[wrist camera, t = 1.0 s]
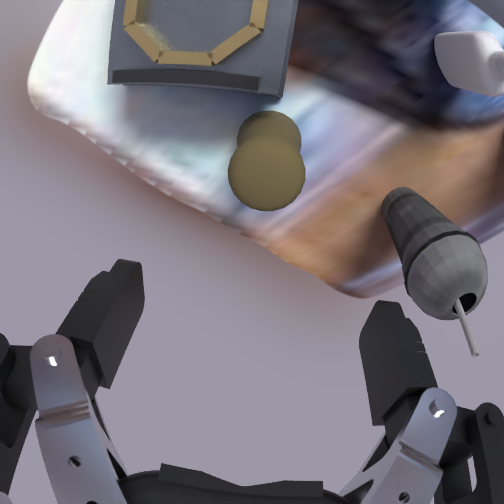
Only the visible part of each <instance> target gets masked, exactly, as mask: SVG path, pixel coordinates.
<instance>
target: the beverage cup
mask: <svg viewBox="0 0 504 504" xmlns="http://www.w3.org/2000/svg"><path fill="white" fill-rule="evenodd" d="M382 212H383V215H384V217H385V221H386V224H387V226H388V229H389V231H390V234H391V236H392V239H393V242H394V244H395V247H396V249H397V252H398V255H399V257H400V260H401V263H402V270H403V275H404V279H405V282H404V284H405V288H406V291H407V294H408V295H409V296H410V297H411V298H412V299H413V301H414V302H415V303H416V304H417V305H418V307H419V308H420V309H421V310H422V311H423V312H424V313H426V314H427V315H430V316H432V317H434V318H437V319H440V320H454V319H460V322H461V325H462V328H463V330H464V333H465V336H466V339H467V342H468V345H469V348H470V351H471V354H472V357H473V358H475V357H477V356H479V351H478V348H477V345H476V342H475V339H474V337H473V334H472V331H471V328H470V325H469V323H468V320H467V318H466V315H467V314H469V313H470V312H471V311H472V310H474V309H475V308H476V306H477V305H478V304H479V303H480V301H481V299H482V298H483V296H484V293H485V290H486V286H487V282H488V272H487V263H486V259H485V257H484V255H483V253H482V250H481V248H480V246H479V244H478V242H477V240H476V238H474V237H473V236H472V235H470V234H469V233H467V232H465V231H463V230H462V229H461V228H459V227H458V226H456V225H455V224H453V223H452V222H451V221H450V220H449V219H448V218H446V217H445V216H444V215H443V214H442V213H441V212H440V211H438V210H437V209H436V208H435V207H434V206H433V205H431V204H430V203H429V202H428V201H427V200H426V199H424V198H423V197H422V196H421V195H419V194H417V193H416V192H415V191H413V190H412V189H410V188H406V187H401V188H397V189H395V190H392V191H391V192H390V193H389V194H388V195H387V196H386V198H385V199H384V202H383V205H382Z"/></svg>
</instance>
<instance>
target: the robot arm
mask: <svg viewBox="0 0 504 504" xmlns="http://www.w3.org/2000/svg"><path fill="white" fill-rule="evenodd" d="M144 301H145V296H144V286H143V274H142V266H141V263H139V262H134V261H129V260H124V259H118V260H117V261H116V263H115V264H114V266H113V267H112V269H111V270H110V272H106V271H102V272H101V273H99V274H98V275H96V276H95V277H94V278H92V279H91V280H90V282H89V283H88V285H87V286H86V287H85V289H84V292H82V294H81V295H80V296H79V298H78V301H76V303H75V304H74V306H73V307H72V308H71V310H70V312H69V313H68V315H67V316H66V318H65V319H64V321H63V323H62V324H61V326H60V327H59V329H58V331H57V332H56V334H52V335H47V336H44V337H43V338H40V339H39V340H38V341H37V342H36V343H35V344H34V345H33V346H17V345H10V344H9V342H8V340H7V339H6V337H5V336H4V335H3V334H1V333H0V504H12V502H11V500H10V498H9V497H8V494H9V490H10V486H11V483H12V479H13V476H14V472H15V469H16V466H17V463H18V460H19V457H20V454H21V451H22V448H23V445H24V442H25V439H26V436H27V434H28V431H29V428H30V426H31V423H32V420H33V418H34V415H35V413H36V410H39V418H38V419H36V421H35V428H36V433H37V437H38V441H39V445H40V449H41V453H42V456H43V460H44V463H45V466H46V470H47V473H48V476H49V479H50V483H51V486H52V488H53V491H54V494H55V497H56V499H57V502H58V504H430V502H431V499H432V498H433V495H434V504H504V416H503V414H502V412H501V410H500V409H499V408H498V407H497V406H496V405H494V404H492V403H483V404H481V405H480V406H479V407H478V408H477V409H476V410H474V411H473V410H470V409H466V408H462V407H458V406H456V403H455V401H454V399H453V397H452V396H451V395H450V394H449V393H448V392H446V391H445V390H443V389H440V388H438V386H437V382H436V379H435V377H434V373H433V370H432V367H431V364H430V361H429V359H428V355H427V353H425V351H426V350H425V347H424V344H423V343H422V339H421V336H420V334H419V331H418V329H417V327H416V326H415V325H414V324H413V322H412V321H411V320H410V319H409V318H405V316H404V313H403V310H402V308H401V305H400V304H399V303H398V302H390V301H382V300H378V301H377V302H376V303H375V305H374V307H373V309H372V311H371V313H370V315H369V317H368V319H367V321H366V323H365V325H364V327H363V328H362V331H361V333H360V338H359V348H360V354H361V358H362V364H363V369H364V375H365V380H366V386H367V392H368V397H369V404H370V411H371V417H372V424H373V426H377V425H379V426H380V425H385V432H384V433H383V434H382V436H381V437H380V439H379V441H378V442H377V444H376V446H375V447H374V449H373V450H372V452H371V453H370V455H369V456H368V458H367V459H366V461H365V462H364V464H363V465H362V467H361V468H360V470H359V471H358V473H357V474H356V475H355V476H354V477H353V479H352V480H351V481H350V482H349V483H348V484H347V485H346V486H345V487H344V488H343V489H342V490H341V491H340V493H339V494H336V493H333V492H330V491H327V490H324V489H323V481H285V480H284V481H279V482H273V483H267V484H260V485H254V486H239V485H236V484H233V483H230V482H227V481H225V480H222V479H220V478H217V477H214V476H212V475H209V474H207V473H204V472H202V471H197V470H192V469H187V468H181V467H177V466H172V465H167V464H163V463H162V464H161V468H160V470H154V471H144V472H140V473H135V474H132V475H128V473H127V471H126V469H125V467H124V464H123V462H122V461H121V459H120V456H119V454H118V452H117V451H116V449H115V447H114V444H113V442H112V440H111V437H110V435H109V433H108V430H107V427H106V425H105V422H104V419H103V417H102V414H101V411H100V408H99V405H98V403H97V400H96V397H95V394H96V392H97V389H98V387H99V386H101V387H104V388H108V389H110V387H111V385H112V382H113V380H114V377H115V374H116V372H117V370H118V367H119V365H120V363H121V360H122V358H123V355H124V353H125V350H126V348H127V346H128V344H129V341H130V339H131V337H132V335H133V332H134V330H135V328H136V326H137V323H138V321H139V319H140V317H141V314H142V312H143V307H144ZM472 456H473V460H474V466H475V472H476V478H477V484H476V488H475V490H474V491H473V492H472V487H471V480H470V473H469V467H468V462H467V460H468V459H469V458H471V457H472Z"/></svg>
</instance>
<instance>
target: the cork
mask: <svg viewBox="0 0 504 504" xmlns="http://www.w3.org/2000/svg"><path fill="white" fill-rule="evenodd" d="M237 140H238V148H237V150H236V151H235V153H234V154H233V156H232V157H231V160H230V163H229V167H228V179H229V184H230V186H231V188H232V191H233V193H234V195H235V196H236V197H237V198H238V199H239V200H240V201H241V202H242V203H243V204H245V205H247V206H248V207H250V208H252V209H256V210H260V211H275V210H278V209H282V208H284V207H286V206H287V205H289V204H290V203H292V202H293V201H294V200H295V199H296V198H297V196H298V195H299V194H300V192H301V190H302V188H303V185H304V182H305V166H304V163H303V160H302V157H301V155H300V149H301V135H300V132H299V129H298V127H297V125H296V124H295V123H294V122H293V120H292V119H291V118H289V117H288V116H286V115H285V114H283V113H279V112H276V111H261V112H258V113H256V114H253V115H252V116H250V117H249V118H248V119H246V120H245V122H244V123H243V124H242V126H241V127H240V130H239V133H238V137H237Z"/></svg>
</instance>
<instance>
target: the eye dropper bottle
mask: <svg viewBox="0 0 504 504" xmlns="http://www.w3.org/2000/svg"><path fill="white" fill-rule="evenodd" d="M434 46H435V54H436V58H437V62H438V65H439V67H440V69H441V71H442V73H443V75H444V77H445V78H446V80H447V81H448V83H449V84H450V85H452V86H453V87H457V88H461V89H465V90H468V91H472V92H476V93H480V94H483V95H487V96H492V97H496V96H500V95H504V51H503V49H502V47H501V46H500V44H499V43H498V41H497V40H496V39H495V37H494V36H493V35H492V34H491V33H489V32H486V31H462V32H447V33H442V34H438V35H436V36H435V39H434Z"/></svg>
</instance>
